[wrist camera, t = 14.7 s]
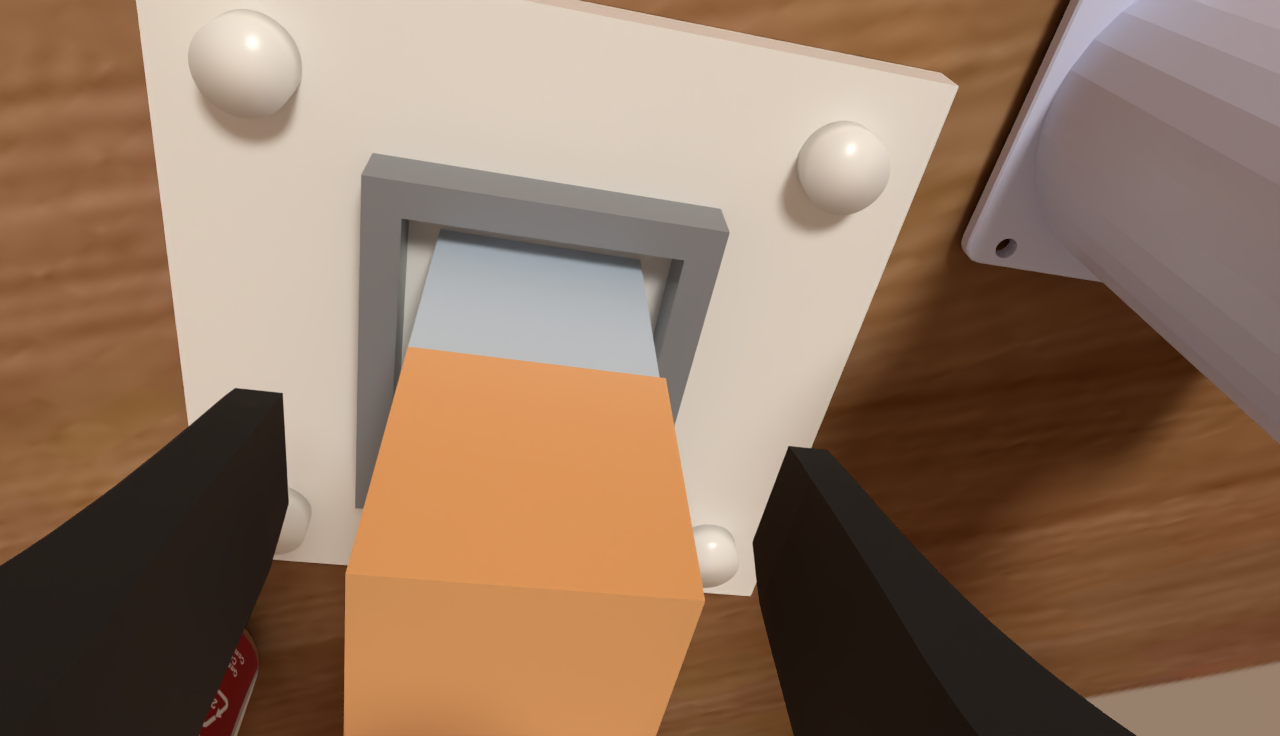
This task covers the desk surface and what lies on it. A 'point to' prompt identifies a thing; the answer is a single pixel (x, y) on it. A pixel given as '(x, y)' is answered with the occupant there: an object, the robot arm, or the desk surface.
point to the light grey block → (535, 305)
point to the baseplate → (523, 214)
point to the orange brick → (520, 555)
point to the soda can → (233, 691)
